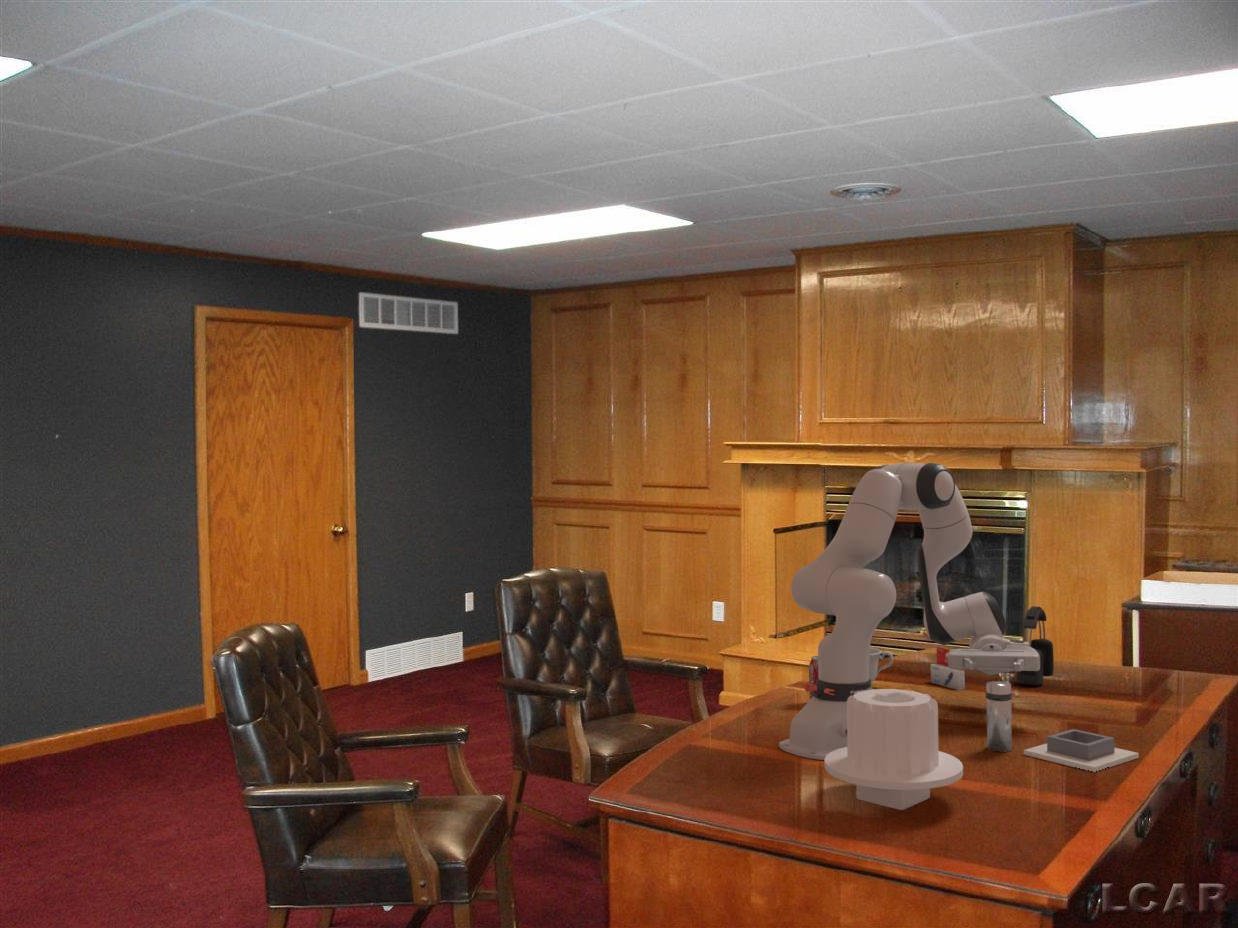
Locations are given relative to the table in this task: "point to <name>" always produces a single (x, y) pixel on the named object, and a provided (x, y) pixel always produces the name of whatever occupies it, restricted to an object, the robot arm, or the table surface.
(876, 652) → the teacup
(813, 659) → the soda can
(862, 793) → the flanged gear
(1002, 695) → the capped metal cylinder
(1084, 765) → the socket mount
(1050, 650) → the headphones
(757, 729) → the table surface
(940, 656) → the ink cartridge box
